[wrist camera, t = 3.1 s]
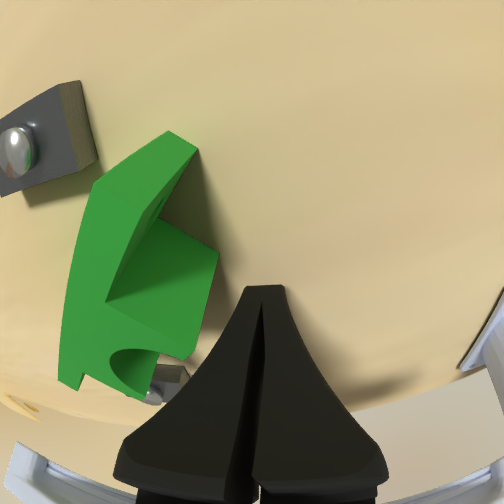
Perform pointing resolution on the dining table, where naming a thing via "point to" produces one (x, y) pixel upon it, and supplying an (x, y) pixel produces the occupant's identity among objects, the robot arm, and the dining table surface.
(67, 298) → the pipe clamp
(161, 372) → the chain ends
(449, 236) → the dining table surface
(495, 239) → the dining table surface
